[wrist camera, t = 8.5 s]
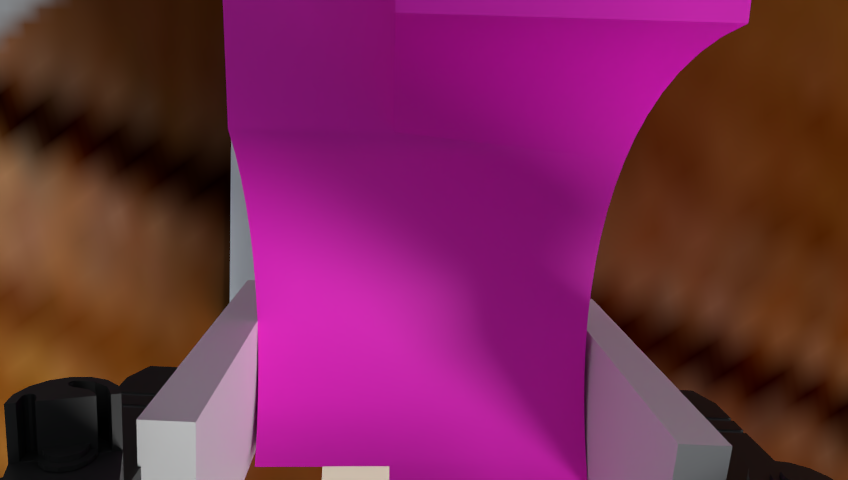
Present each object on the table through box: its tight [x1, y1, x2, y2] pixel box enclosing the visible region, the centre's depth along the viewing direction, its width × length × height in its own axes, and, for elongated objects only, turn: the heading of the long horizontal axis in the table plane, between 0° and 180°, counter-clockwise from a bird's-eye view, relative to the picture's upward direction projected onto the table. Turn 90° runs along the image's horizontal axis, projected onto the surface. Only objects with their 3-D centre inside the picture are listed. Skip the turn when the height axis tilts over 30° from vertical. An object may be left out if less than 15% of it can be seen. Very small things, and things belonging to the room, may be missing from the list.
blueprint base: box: [230, 141, 389, 480], centre depth 22 cm, size 14×14×8 cm
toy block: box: [223, 0, 751, 480], centre depth 12 cm, size 15×6×8 cm, turn 179°
